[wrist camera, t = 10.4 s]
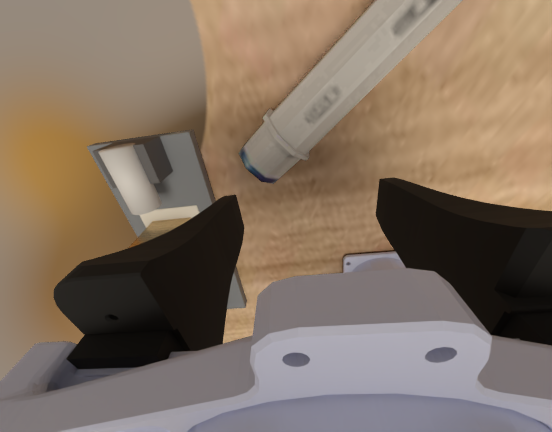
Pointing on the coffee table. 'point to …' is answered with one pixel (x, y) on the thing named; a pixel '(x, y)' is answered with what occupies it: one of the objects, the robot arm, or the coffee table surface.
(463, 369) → the robot arm
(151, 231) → the block
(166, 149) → the coupling bed
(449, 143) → the coffee table surface
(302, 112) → the grey long handheld tool
